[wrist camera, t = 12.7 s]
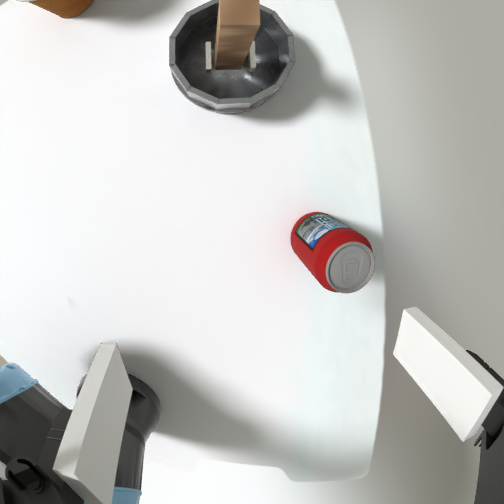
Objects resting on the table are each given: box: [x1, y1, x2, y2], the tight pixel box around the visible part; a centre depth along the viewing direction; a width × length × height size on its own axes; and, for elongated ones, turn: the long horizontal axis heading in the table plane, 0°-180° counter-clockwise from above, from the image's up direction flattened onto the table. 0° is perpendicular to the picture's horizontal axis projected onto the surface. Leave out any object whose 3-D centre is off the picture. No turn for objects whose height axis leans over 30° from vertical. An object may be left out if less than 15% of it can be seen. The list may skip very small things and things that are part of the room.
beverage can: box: [291, 212, 375, 293], centre depth 34 cm, size 7×7×12 cm
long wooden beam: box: [215, 0, 260, 70], centre depth 24 cm, size 3×3×14 cm
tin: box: [169, 0, 295, 113], centre depth 29 cm, size 14×14×5 cm
